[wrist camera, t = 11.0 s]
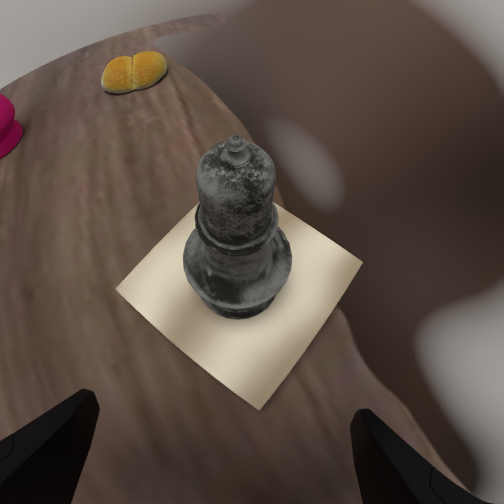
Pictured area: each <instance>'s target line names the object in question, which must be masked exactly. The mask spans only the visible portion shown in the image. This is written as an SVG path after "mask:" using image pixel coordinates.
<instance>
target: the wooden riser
mask: <svg viewBox="0 0 504 504" xmlns="http://www.w3.org/2000/svg"><path fill="white" fill-rule="evenodd" d="M199 203H200V202H199ZM199 203H198V204H199ZM198 204H197V205H196V206H195V207H194V208H193V209H192V210H191V211H190V212H189V213H188V214H187V215H186V216H185V217H184V218H183V219H182V220H181V221H180V222H179V223H178V224H177V225H176V226H175V227H174V228H173V229H172V230H171V231H170V232H169V233H168V234H167V235H166V236H165V237H164V238H163V239H162V240H161V241H160V242H159V243H158V244H157V245H156V246H155V247H154V248H153V249H152V250H151V251H150V252H149V254H148V255H147V256H146V257H145V258H144V259H143V260H142V261H141V262H140V263H139V264H138V265H137V266H136V267H135V268H134V269H133V271H132V272H131V273H130V274H129V275H128V276H127V277H126V278H125V279H124V280H123V281H122V282H121V284H120V285H119V286H118V287H117V288H116V290H117V291H118V292H119V293H120V294H121V295H122V296H123V297H124V298H125V299H126V300H127V301H128V302H129V303H130V304H131V305H132V306H133V307H134V308H135V309H136V310H137V311H139V312H140V313H141V314H142V315H143V316H144V317H145V318H146V319H147V320H148V321H149V322H150V323H151V324H152V325H154V326H155V327H156V328H157V329H158V330H159V331H160V332H161V333H162V334H163V335H165V336H166V337H167V338H168V339H169V340H170V341H171V342H173V343H174V344H175V345H176V346H177V347H178V348H179V349H181V350H182V351H183V352H184V353H185V354H187V355H188V356H189V357H190V358H191V359H193V360H194V361H195V362H196V363H197V364H199V365H200V366H201V367H202V368H204V369H205V370H206V371H207V372H208V373H210V374H211V375H212V376H214V377H215V378H216V379H217V380H219V381H220V382H221V383H223V384H224V385H225V386H226V387H228V388H229V389H230V390H232V391H233V392H234V393H236V394H237V395H238V396H240V397H241V398H242V399H244V400H245V401H247V402H248V403H249V404H251V405H252V406H254V407H255V408H256V409H258V410H260V409H261V408H262V407H263V406H264V404H265V403H266V402H267V401H268V399H269V398H270V397H271V395H272V394H273V393H274V392H275V390H276V389H277V388H278V386H279V385H280V384H281V383H282V381H283V380H284V379H285V377H286V376H287V375H288V373H289V372H290V371H291V369H292V368H293V367H294V365H295V364H296V362H297V361H298V360H299V358H300V357H301V356H302V354H303V353H304V351H305V350H306V349H307V347H308V346H309V344H310V343H311V342H312V340H313V339H314V337H315V336H316V334H317V333H318V331H319V330H320V328H321V327H322V326H323V324H324V323H325V321H326V320H327V318H328V317H329V315H330V314H331V312H332V311H333V309H334V308H335V306H336V304H337V303H338V301H339V300H340V298H341V297H342V295H343V294H344V292H345V290H346V289H347V287H348V286H349V284H350V282H351V281H352V279H353V278H354V276H355V274H356V273H357V271H358V269H359V268H360V266H361V264H362V263H363V262H362V261H360V260H359V259H357V258H356V257H355V256H353V255H352V254H350V253H349V252H347V251H346V250H345V249H343V248H342V247H340V246H339V245H337V244H336V243H334V242H333V241H331V240H330V239H328V238H327V237H325V236H324V235H322V234H321V233H319V232H318V231H316V230H315V229H313V228H312V227H310V226H309V225H307V224H306V223H304V222H303V221H301V220H300V219H298V218H297V217H295V216H294V215H292V214H291V213H289V212H287V211H286V210H284V209H283V208H281V207H280V206H278V205H277V204H275V203H274V204H275V206H276V208H277V212H278V216H279V219H278V227H279V228H280V229H281V230H282V231H283V232H284V234H285V236H286V238H287V240H288V242H289V243H290V248H291V253H292V265H291V271H290V274H289V276H288V279H287V281H286V283H285V284H284V286H283V287H282V288H281V290H280V291H279V292H278V294H276V296H275V299H274V300H273V302H272V303H271V304H270V306H269V307H268V308H267V309H265V310H264V311H263V312H261V313H260V314H258V315H256V316H253V317H251V318H248V319H240V320H236V319H229V318H225V317H222V316H220V315H218V314H216V313H214V312H213V311H212V310H210V309H209V308H208V307H207V306H206V305H205V303H204V302H203V300H202V299H201V297H200V295H198V294H197V293H196V292H195V290H194V289H193V288H192V286H191V285H190V283H189V282H188V280H187V277H186V274H185V271H184V268H183V252H184V248H185V244H186V241H187V240H188V238H189V236H190V234H191V232H192V231H193V230H194V229H195V228H196V227H195V213H196V209H197V206H198Z"/></svg>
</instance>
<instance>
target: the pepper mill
mask: <svg viewBox="0 0 504 504" xmlns="http://www.w3.org/2000/svg"><path fill="white" fill-rule="evenodd" d="M14 117H15V108H14V106H13V104H12V103H11V101H10V100H9V99H7V98H6V97H5V96H4V95H2V94H0V158H2V157H4V156H5V155H6V154H8V153H9V152H10V151H11V150H12V149H13V148H14V147H15V146H16V145H17V143H18V142H19V141H20V139H21V137H22V134H23V129H22V127H21V125H20V124H19V122H18V121H17V120H14Z"/></svg>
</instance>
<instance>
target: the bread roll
mask: <svg viewBox="0 0 504 504" xmlns="http://www.w3.org/2000/svg"><path fill="white" fill-rule="evenodd" d="M166 71H167V63H166V60H165V58H164V57H163V56H162V55H161V54H159V53H157V52H153V51H148V52H141V53H138V54H136V55H134V56H133V58H132V57H128V56H121V57H117V58H115V59H113V60H112V61H110V62H109V63H108V65H107V66H106V68H105V70H104V72H103V76H102V82H101V84H102V88H103V89H104V90H105V91H106V92H109V93H115V94H121V93H126V92H130V91H133V90H140V89H145V88H148V87H150V86H152V85H153V84H155V83H156V82H157V81H158V80H159V79H160V78H161V77H163V76H164V75H165V74H166Z"/></svg>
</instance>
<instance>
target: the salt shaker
mask: <svg viewBox="0 0 504 504" xmlns="http://www.w3.org/2000/svg"><path fill="white" fill-rule="evenodd" d="M275 180H276V173H275V168H274V164H273V161H272V160H271V158H270V157H269V155H268V154H267V153H266V152H264V151H263V150H262V149H261V148H260V147H258V146H257V145H255V144H253V143H250V142H247V141H245V140H244V139H242V138H241V137H240V136H238V135H237V134H233V136H231V137H230V138H228V139H227V140H226V141H225V142H221V143H219V144H217V145H215V146H213V147H212V148H211V149H209V150H208V151H207V152H206V153H205V154H204V155H203V156H202V158H201V159H200V161H199V163H198V166H197V171H196V184H197V189H198V195H199V200H200V203H199V204H198V206H197V209H196V213H195V227H196V228H195V229H194V230H193V231H192V232H191V234H190V236H189V238H188V240H187V241H186V244H185V248H184V252H183V268H184V271H185V274H186V277H187V280H188V282H189V283H190V285H191V286H192V288H193V289H194V290H195V292H196V293H197V294H198V295H200V297H201V299H202V300H203V302H204V303H205V305H206V306H207V307H208V308H209V309H210V310H212V311H213V312H214V313H216V314H218V315H220V316H222V317H225V318H229V319H236V320H240V319H248V318H251V317H253V316H256V315H258V314H260V313H261V312H263V311H264V310H265V309H267V308H268V307H269V306H270V304H271V303H272V302H273V300H274V299H275V296H276V294H278V292H279V291H280V290H281V288H282V287H283V286H284V284H285V283H286V281H287V279H288V276H289V274H290V271H291V265H292V253H291V248H290V243H289V242H288V240H287V238H286V236H285V234H284V232H283V231H282V230H281V229H280V228H279V227H278V219H279V216H278V212H277V208H276V206H275V204H274V202H273V195H274V188H275Z"/></svg>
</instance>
